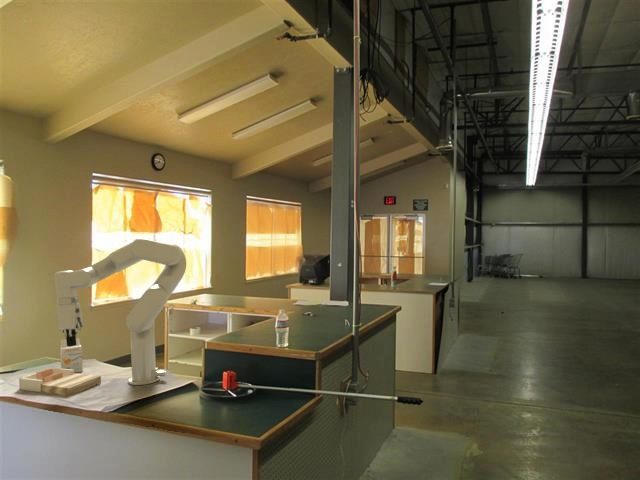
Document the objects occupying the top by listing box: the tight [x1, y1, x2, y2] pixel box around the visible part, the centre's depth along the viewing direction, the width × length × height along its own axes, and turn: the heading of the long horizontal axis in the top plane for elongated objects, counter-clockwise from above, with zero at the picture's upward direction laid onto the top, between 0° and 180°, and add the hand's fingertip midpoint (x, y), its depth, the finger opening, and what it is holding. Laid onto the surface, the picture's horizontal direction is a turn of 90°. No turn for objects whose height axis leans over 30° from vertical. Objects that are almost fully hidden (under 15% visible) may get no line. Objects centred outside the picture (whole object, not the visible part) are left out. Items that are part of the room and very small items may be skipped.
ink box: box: [59, 337, 84, 373], centre depth 223 cm, size 8×5×15 cm, turn 123°
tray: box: [18, 367, 74, 393], centre depth 206 cm, size 12×16×4 cm
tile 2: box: [43, 373, 63, 383], centre depth 205 cm, size 5×5×3 cm
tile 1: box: [35, 367, 53, 384], centre depth 206 cm, size 5×5×3 cm
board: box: [40, 372, 102, 397], centre depth 201 cm, size 15×16×3 cm
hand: (71, 345), depth 201 cm, fingers closed
